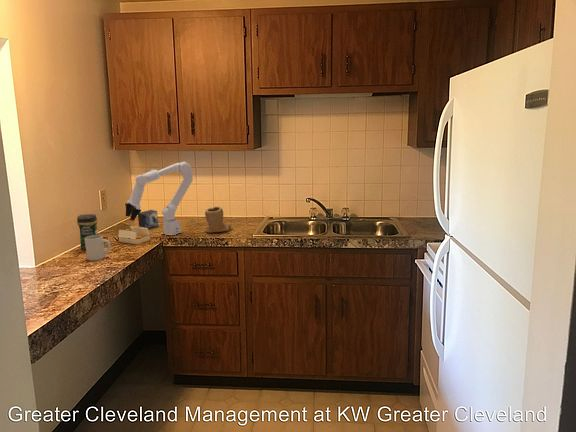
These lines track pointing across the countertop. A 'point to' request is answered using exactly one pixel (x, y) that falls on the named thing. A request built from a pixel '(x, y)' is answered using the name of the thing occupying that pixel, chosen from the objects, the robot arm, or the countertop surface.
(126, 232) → the left flap
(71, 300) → the countertop surface
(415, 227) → the countertop surface
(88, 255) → the mug
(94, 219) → the coffee jar
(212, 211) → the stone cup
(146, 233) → the right flap
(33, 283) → the countertop surface
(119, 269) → the countertop surface
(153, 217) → the small box
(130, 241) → the cream shallow tray
